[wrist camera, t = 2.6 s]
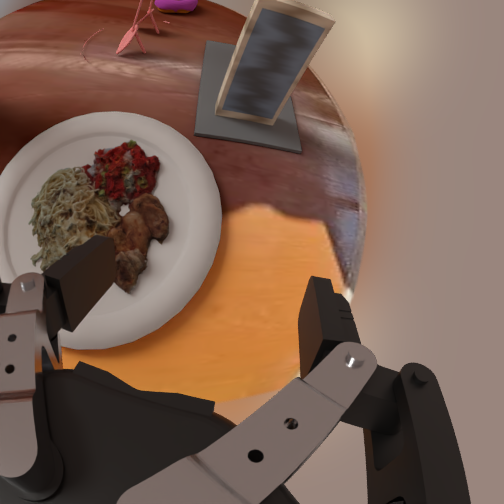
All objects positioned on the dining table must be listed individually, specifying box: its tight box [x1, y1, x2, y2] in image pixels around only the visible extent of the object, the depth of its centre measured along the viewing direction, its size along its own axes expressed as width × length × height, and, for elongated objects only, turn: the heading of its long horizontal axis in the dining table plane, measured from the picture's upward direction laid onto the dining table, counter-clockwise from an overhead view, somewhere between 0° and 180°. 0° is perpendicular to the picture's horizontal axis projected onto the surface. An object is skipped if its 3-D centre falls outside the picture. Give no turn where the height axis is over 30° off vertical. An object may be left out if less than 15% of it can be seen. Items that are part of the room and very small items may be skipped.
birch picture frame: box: [215, 0, 335, 126], centre depth 32 cm, size 9×3×20 cm, turn 92°
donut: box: [155, 0, 198, 13], centre depth 48 cm, size 11×10×5 cm
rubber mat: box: [194, 40, 302, 154], centre depth 44 cm, size 28×16×1 cm, turn 2°
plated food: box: [0, 111, 222, 350], centre depth 28 cm, size 30×30×3 cm
